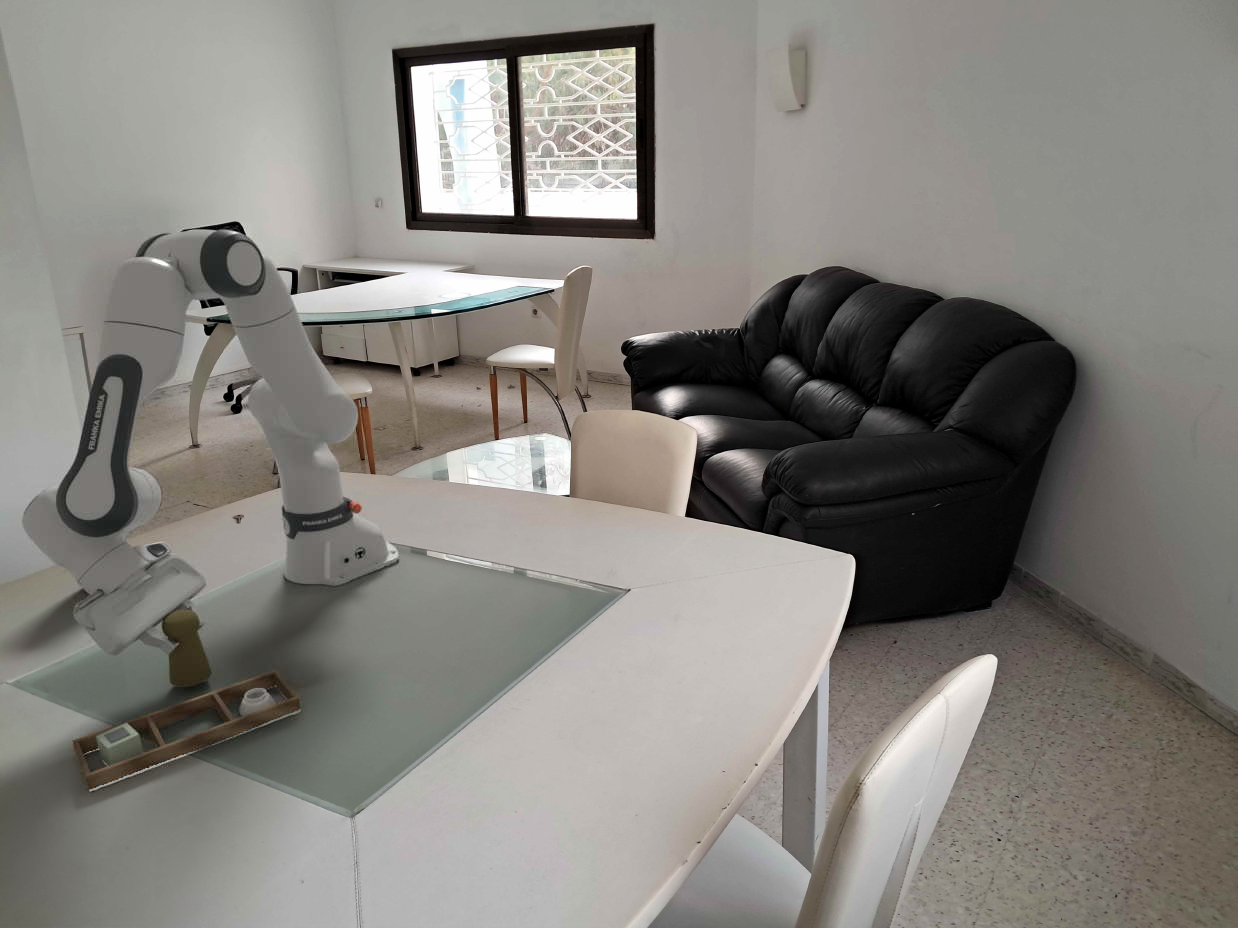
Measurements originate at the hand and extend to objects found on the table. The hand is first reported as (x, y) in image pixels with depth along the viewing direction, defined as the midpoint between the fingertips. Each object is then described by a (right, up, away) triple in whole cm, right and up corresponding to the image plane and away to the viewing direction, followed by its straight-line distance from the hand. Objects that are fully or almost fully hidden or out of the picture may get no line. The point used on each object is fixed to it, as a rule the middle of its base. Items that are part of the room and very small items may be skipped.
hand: (187, 638), depth 134 cm
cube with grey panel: (-2, -14, -14) cm, 20 cm away
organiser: (+5, -12, -9) cm, 16 cm away
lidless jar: (+12, -10, -3) cm, 16 cm away
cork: (-1, -6, +2) cm, 7 cm away
